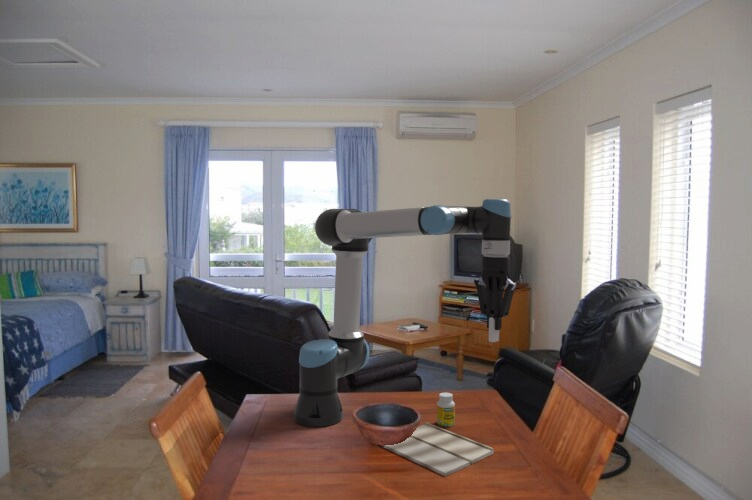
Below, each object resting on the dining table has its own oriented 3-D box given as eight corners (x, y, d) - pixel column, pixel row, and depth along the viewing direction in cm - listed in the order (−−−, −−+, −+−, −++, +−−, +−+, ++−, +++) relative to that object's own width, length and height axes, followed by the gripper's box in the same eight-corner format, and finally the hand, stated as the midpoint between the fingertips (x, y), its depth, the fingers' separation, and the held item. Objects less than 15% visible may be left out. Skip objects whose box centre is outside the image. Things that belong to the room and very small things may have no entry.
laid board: (377, 447, 149) (378, 441, 149) (403, 437, 156) (403, 432, 156) (445, 479, 131) (445, 473, 131) (471, 466, 138) (471, 461, 138)
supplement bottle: (447, 421, 168) (448, 390, 168) (458, 427, 164) (458, 395, 163) (433, 424, 166) (433, 393, 165) (443, 430, 161) (443, 398, 161)
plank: (404, 437, 156) (404, 430, 156) (426, 428, 162) (426, 422, 162) (472, 466, 138) (472, 459, 138) (493, 455, 144) (493, 448, 144)
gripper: (468, 255, 153) (466, 339, 154) (507, 257, 143) (505, 347, 144) (484, 253, 158) (482, 335, 159) (524, 256, 148) (521, 343, 149)
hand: (493, 341), depth 152 cm, fingers closed
